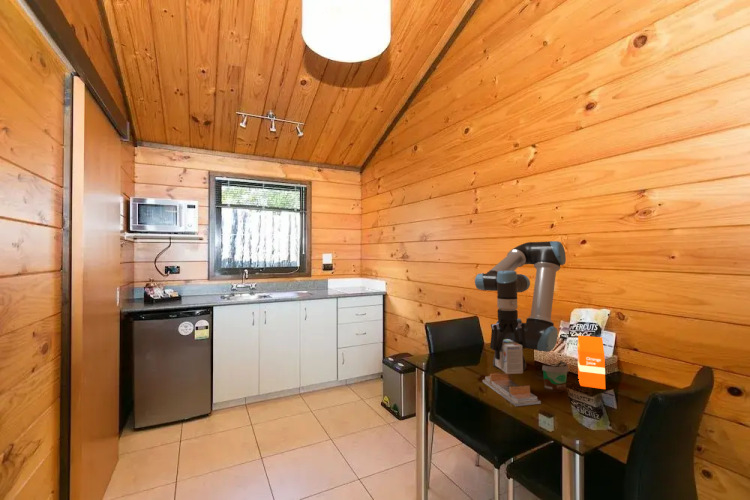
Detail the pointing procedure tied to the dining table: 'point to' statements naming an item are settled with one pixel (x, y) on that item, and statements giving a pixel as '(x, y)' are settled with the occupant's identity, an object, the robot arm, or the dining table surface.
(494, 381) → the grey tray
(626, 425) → the dining table surface
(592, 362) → the orange juice
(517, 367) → the light bulb box
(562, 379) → the food container
